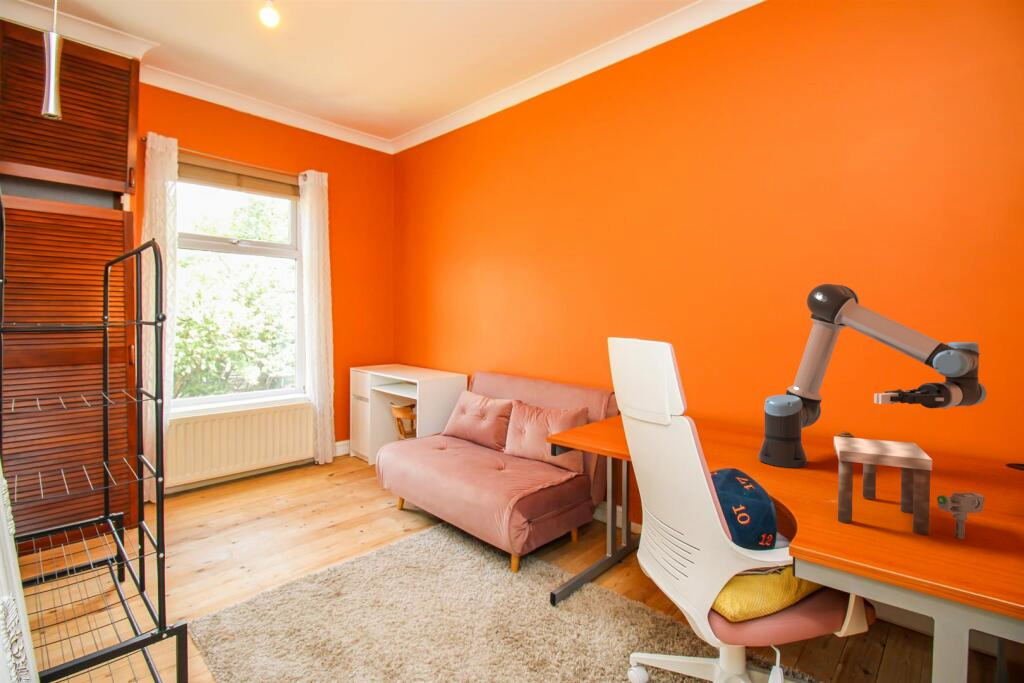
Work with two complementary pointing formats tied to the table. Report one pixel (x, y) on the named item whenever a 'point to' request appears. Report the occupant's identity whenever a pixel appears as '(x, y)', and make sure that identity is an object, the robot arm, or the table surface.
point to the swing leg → (869, 481)
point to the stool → (889, 454)
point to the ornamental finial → (845, 435)
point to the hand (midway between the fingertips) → (877, 398)
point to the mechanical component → (961, 508)
